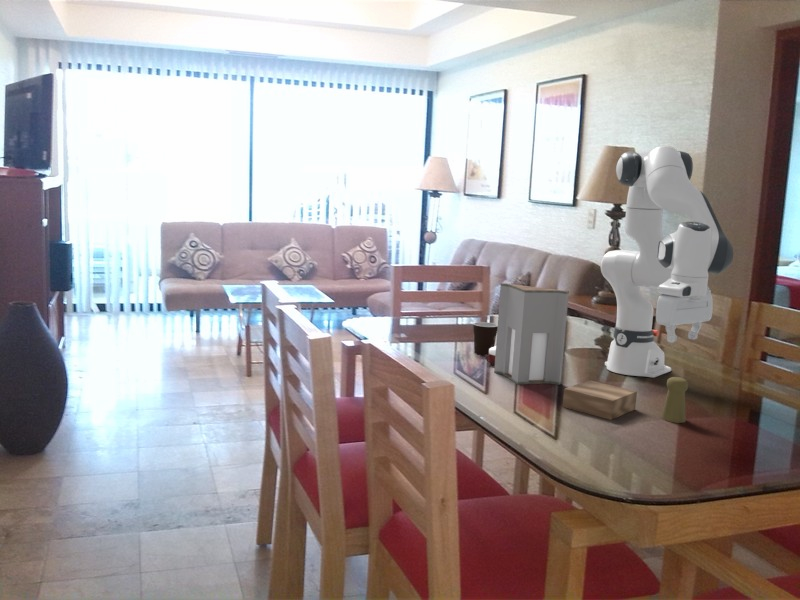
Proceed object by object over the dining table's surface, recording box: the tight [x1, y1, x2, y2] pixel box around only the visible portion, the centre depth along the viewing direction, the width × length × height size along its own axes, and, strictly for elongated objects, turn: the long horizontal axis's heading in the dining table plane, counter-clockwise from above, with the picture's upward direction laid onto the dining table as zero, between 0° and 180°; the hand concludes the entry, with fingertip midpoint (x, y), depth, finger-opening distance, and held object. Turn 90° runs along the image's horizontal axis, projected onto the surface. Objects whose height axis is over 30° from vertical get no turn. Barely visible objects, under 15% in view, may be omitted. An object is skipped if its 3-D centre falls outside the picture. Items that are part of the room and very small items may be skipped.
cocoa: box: [485, 345, 496, 366], centre depth 247 cm, size 10×6×12 cm, turn 96°
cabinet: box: [493, 282, 570, 386], centre depth 227 cm, size 21×10×28 cm, turn 59°
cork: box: [660, 376, 689, 424], centre depth 197 cm, size 6×6×11 cm
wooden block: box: [562, 380, 638, 421], centre depth 204 cm, size 14×14×5 cm
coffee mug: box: [472, 321, 498, 356], centre depth 264 cm, size 12×9×10 cm
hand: (682, 340), depth 195 cm, fingers open, 8 cm apart
